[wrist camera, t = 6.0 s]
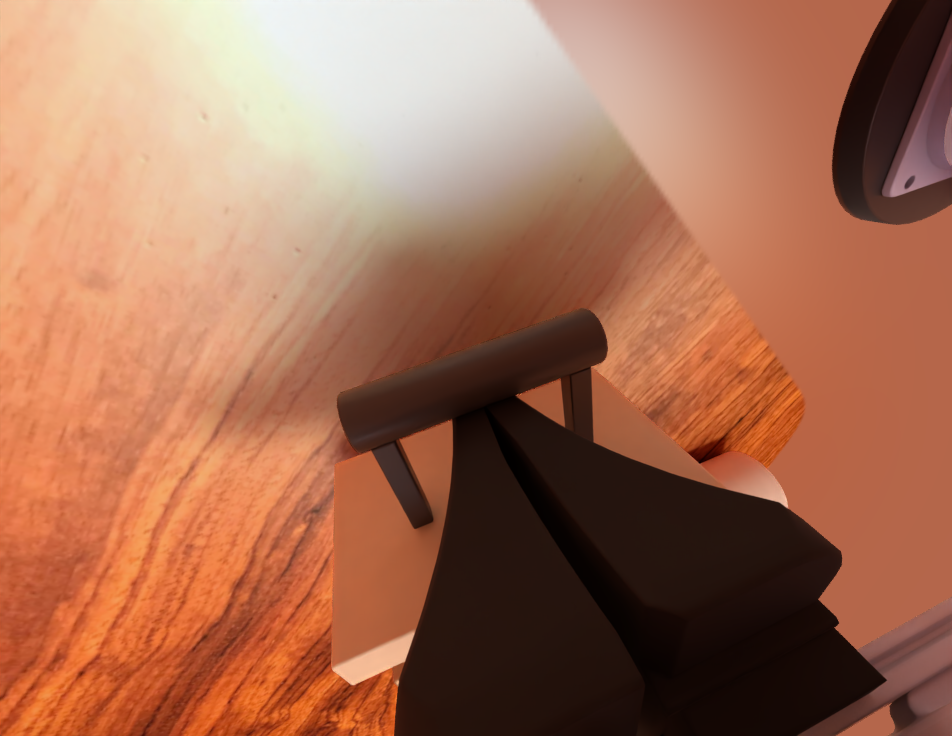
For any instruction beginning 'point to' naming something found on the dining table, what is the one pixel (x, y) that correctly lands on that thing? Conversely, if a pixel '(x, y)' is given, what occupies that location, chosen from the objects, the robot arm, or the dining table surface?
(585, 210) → the dining table surface
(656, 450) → the drawer
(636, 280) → the dining table surface
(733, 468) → the paper towel roll
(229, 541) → the dining table surface
